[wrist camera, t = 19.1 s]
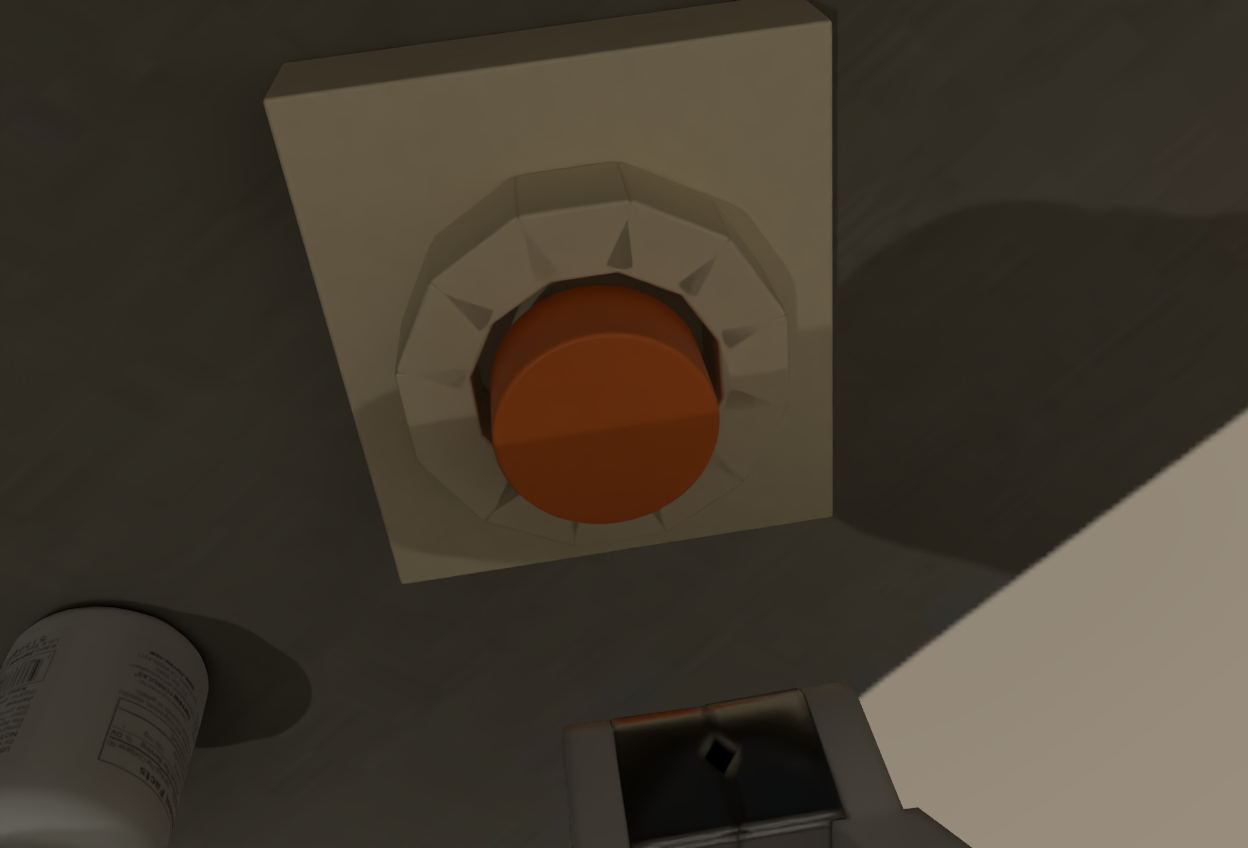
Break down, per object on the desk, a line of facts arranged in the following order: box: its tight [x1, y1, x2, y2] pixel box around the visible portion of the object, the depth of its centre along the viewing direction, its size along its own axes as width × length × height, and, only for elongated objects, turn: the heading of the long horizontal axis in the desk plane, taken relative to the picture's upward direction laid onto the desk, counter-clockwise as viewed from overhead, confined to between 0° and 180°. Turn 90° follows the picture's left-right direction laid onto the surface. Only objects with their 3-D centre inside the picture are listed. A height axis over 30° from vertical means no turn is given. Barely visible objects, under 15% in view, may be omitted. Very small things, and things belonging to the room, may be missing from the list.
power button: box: [490, 285, 720, 524], centre depth 18 cm, size 4×4×2 cm
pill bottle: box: [0, 607, 209, 848], centre depth 22 cm, size 4×4×8 cm
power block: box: [263, 0, 833, 584], centre depth 20 cm, size 10×9×4 cm
